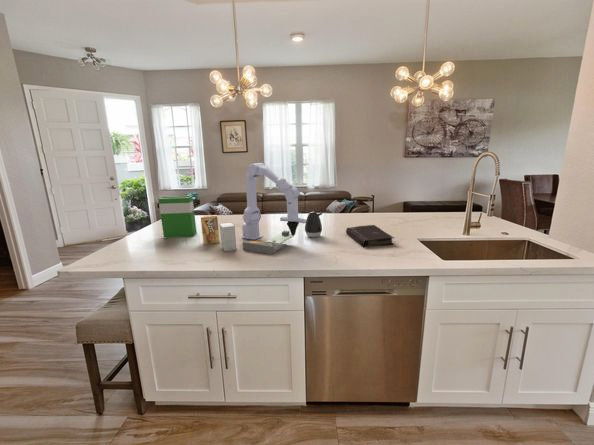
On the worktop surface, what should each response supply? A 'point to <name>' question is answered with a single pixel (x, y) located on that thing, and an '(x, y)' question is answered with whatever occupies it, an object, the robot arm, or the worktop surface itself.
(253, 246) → the large grey box
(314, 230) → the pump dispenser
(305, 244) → the worktop surface
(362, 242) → the diary
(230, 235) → the small box
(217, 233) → the candy box
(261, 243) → the cylinder
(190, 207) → the green cereal box
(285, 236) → the cover
